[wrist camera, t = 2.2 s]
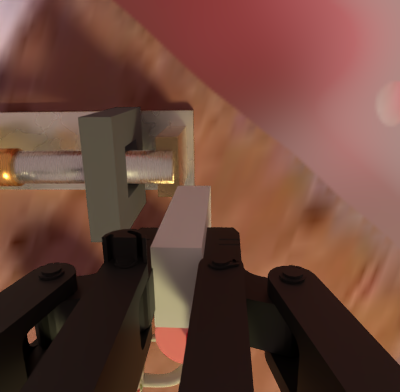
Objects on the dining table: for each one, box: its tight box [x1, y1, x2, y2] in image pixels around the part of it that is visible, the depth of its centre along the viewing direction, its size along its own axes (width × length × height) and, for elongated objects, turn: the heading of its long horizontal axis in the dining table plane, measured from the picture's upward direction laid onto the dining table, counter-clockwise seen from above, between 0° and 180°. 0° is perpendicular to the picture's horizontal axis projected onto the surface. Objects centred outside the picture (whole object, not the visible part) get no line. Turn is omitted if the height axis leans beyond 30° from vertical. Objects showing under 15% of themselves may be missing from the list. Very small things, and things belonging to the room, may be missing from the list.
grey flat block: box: [78, 107, 146, 242], centre depth 27 cm, size 2×8×8 cm, turn 1°
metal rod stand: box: [0, 110, 195, 197], centre depth 31 cm, size 20×7×8 cm, turn 91°
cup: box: [155, 327, 188, 364], centre depth 32 cm, size 5×5×12 cm
